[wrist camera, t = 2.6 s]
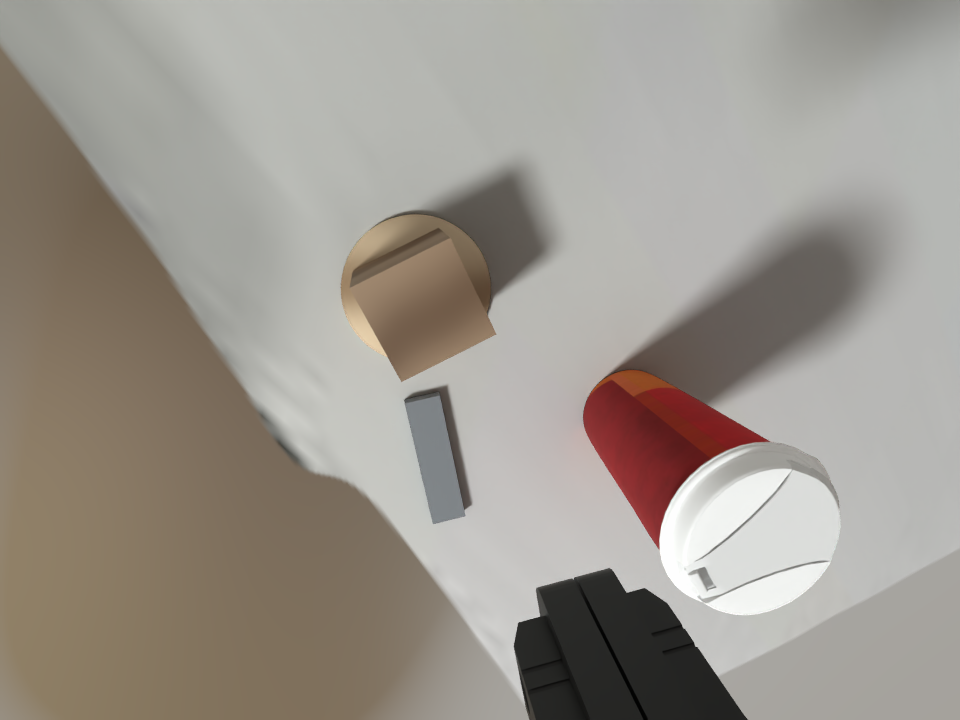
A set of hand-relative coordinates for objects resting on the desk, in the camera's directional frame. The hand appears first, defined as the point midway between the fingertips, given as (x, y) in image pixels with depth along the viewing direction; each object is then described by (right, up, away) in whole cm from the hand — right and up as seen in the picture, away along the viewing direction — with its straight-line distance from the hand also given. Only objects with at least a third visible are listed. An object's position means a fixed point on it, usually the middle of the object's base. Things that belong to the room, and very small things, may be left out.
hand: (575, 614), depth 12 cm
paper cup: (+7, +2, +25) cm, 26 cm away
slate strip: (-4, -1, +24) cm, 24 cm away
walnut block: (-5, +9, +21) cm, 23 cm away
